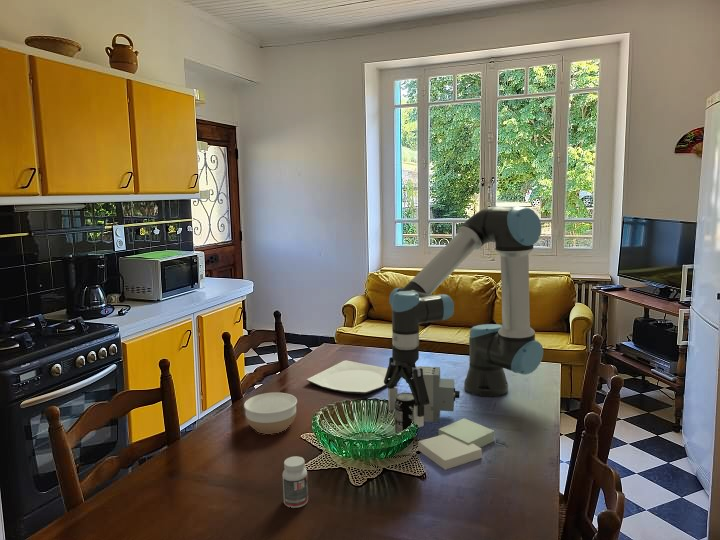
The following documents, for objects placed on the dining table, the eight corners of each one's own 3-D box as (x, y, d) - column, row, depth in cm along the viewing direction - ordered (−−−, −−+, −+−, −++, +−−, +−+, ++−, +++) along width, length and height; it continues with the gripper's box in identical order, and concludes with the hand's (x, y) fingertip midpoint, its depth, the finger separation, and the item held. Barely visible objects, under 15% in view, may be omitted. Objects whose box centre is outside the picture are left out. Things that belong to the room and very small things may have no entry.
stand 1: (464, 427, 157) (464, 418, 157) (494, 440, 149) (494, 430, 148) (438, 439, 150) (438, 429, 150) (468, 453, 142) (468, 442, 141)
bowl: (234, 428, 161) (233, 403, 160) (276, 411, 172) (275, 388, 171) (266, 444, 150) (265, 417, 149) (309, 425, 161) (308, 400, 160)
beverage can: (420, 432, 155) (419, 393, 153) (414, 442, 149) (414, 401, 147) (398, 429, 157) (397, 390, 156) (392, 439, 151) (391, 399, 149)
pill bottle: (312, 503, 121) (311, 462, 119) (290, 512, 118) (288, 470, 116) (301, 491, 125) (299, 452, 124) (279, 499, 122) (277, 459, 121)
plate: (405, 376, 203) (405, 369, 203) (367, 401, 179) (366, 394, 179) (344, 364, 218) (344, 358, 218) (301, 387, 195) (301, 380, 194)
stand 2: (453, 439, 150) (453, 431, 150) (481, 457, 139) (481, 448, 139) (418, 450, 144) (418, 441, 144) (445, 469, 134) (445, 460, 133)
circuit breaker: (459, 423, 160) (459, 376, 158) (412, 420, 163) (411, 373, 161) (459, 413, 168) (459, 368, 165) (414, 410, 170) (414, 366, 168)
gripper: (372, 337, 158) (372, 405, 161) (419, 360, 137) (419, 437, 139) (393, 334, 162) (393, 400, 165) (442, 355, 140) (442, 431, 143)
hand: (405, 417), depth 152 cm, fingers open, 13 cm apart
